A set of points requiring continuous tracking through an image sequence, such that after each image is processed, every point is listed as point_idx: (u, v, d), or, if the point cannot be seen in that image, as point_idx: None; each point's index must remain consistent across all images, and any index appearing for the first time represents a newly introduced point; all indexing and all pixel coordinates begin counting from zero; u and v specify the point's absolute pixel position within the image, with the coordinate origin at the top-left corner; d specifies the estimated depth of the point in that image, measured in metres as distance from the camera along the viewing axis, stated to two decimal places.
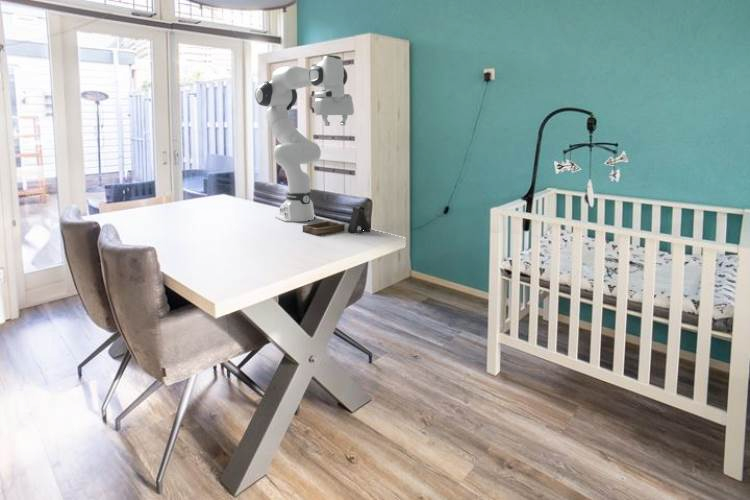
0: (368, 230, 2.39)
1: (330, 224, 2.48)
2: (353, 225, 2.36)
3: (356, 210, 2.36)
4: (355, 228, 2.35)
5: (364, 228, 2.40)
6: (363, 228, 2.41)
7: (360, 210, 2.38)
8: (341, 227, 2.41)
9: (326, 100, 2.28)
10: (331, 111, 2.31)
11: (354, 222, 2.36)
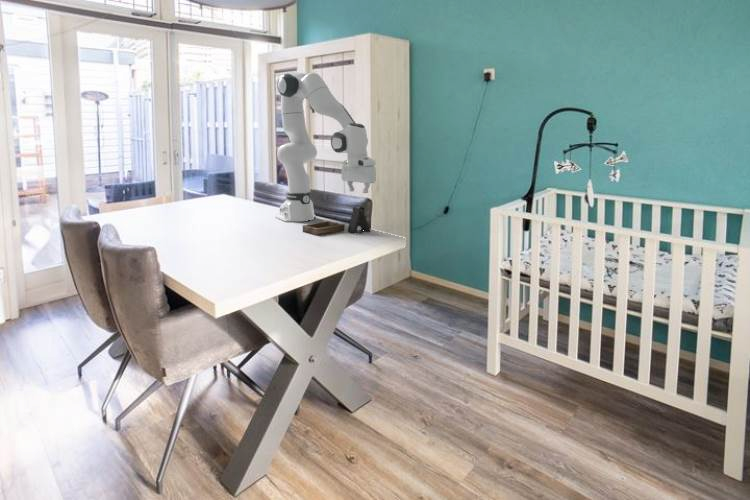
0: (368, 230, 2.39)
1: (330, 224, 2.48)
2: (353, 225, 2.36)
3: (356, 210, 2.36)
4: (355, 228, 2.35)
5: (364, 228, 2.40)
6: (363, 228, 2.41)
7: (360, 210, 2.38)
8: (341, 227, 2.41)
9: None
10: None
11: (354, 222, 2.36)
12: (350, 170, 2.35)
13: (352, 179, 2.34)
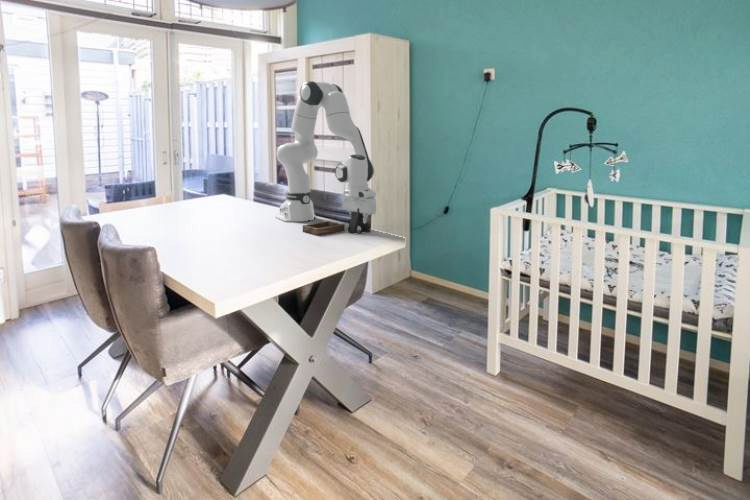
0: (368, 230, 2.39)
1: (330, 224, 2.48)
2: (353, 225, 2.36)
3: None
4: (355, 228, 2.35)
5: (364, 228, 2.40)
6: (363, 228, 2.41)
7: None
8: (341, 227, 2.41)
9: None
10: None
11: (354, 222, 2.36)
12: (350, 200, 2.38)
13: (353, 209, 2.38)
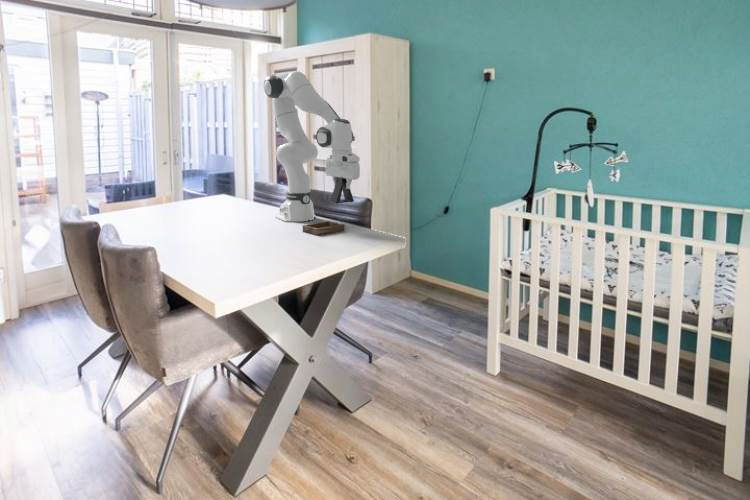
0: (351, 200, 2.37)
1: (330, 224, 2.48)
2: (336, 194, 2.34)
3: (340, 179, 2.34)
4: (338, 197, 2.33)
5: (347, 198, 2.38)
6: (347, 198, 2.39)
7: (344, 179, 2.36)
8: (341, 227, 2.41)
9: None
10: None
11: (337, 191, 2.34)
12: (334, 165, 2.35)
13: (336, 174, 2.35)
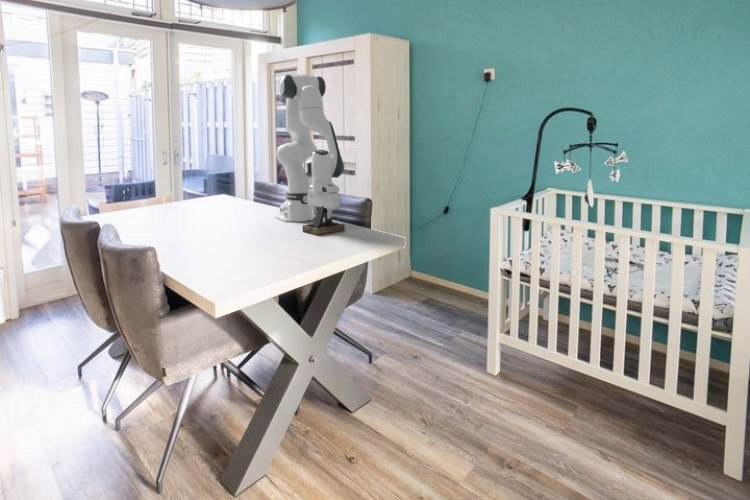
0: None
1: None
2: (317, 223, 2.38)
3: (320, 207, 2.37)
4: (319, 225, 2.37)
5: (329, 225, 2.41)
6: (328, 225, 2.42)
7: None
8: (341, 227, 2.41)
9: None
10: None
11: (318, 219, 2.37)
12: (315, 196, 2.39)
13: (317, 204, 2.38)
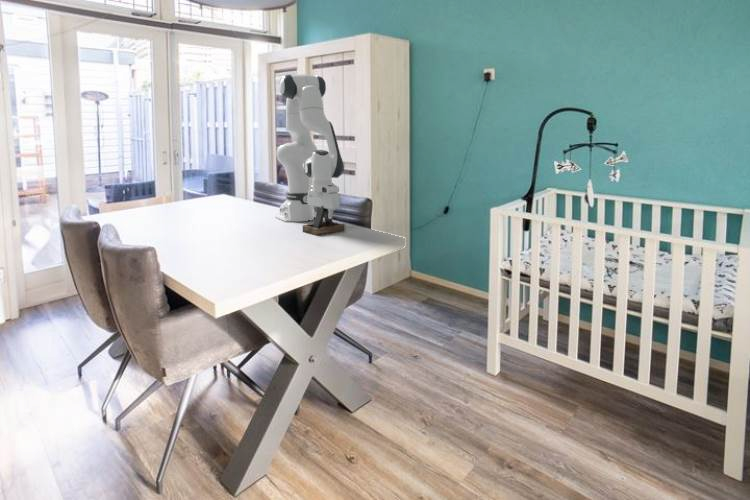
0: None
1: None
2: (317, 223, 2.38)
3: (320, 207, 2.37)
4: (319, 225, 2.37)
5: (329, 225, 2.41)
6: (328, 225, 2.42)
7: None
8: (341, 227, 2.41)
9: None
10: None
11: (318, 219, 2.37)
12: (315, 196, 2.39)
13: (317, 204, 2.38)
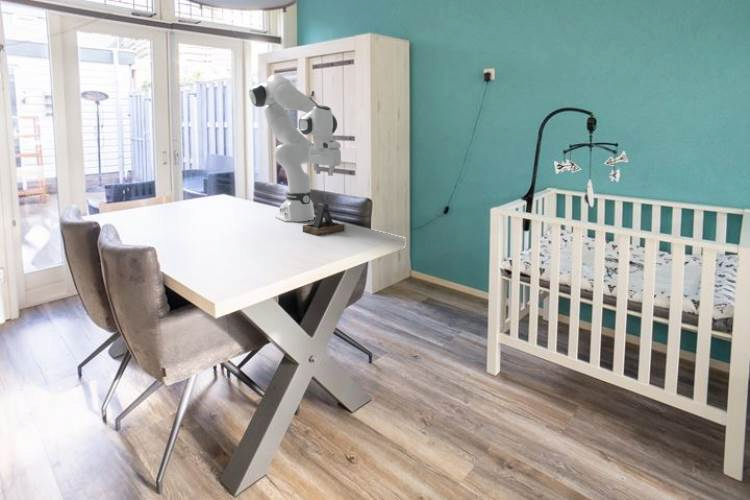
0: None
1: None
2: (317, 223, 2.38)
3: (320, 207, 2.37)
4: (319, 225, 2.37)
5: (329, 225, 2.41)
6: (328, 225, 2.42)
7: (325, 207, 2.39)
8: (341, 227, 2.41)
9: None
10: None
11: (318, 219, 2.37)
12: (316, 153, 2.36)
13: (318, 161, 2.35)
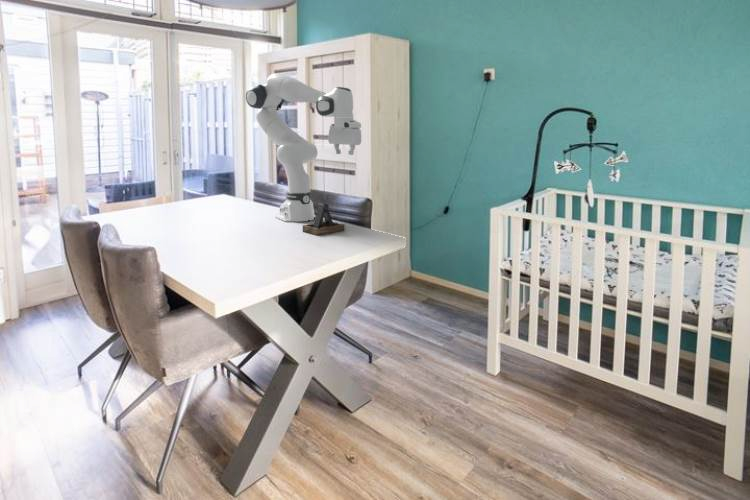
0: None
1: None
2: (317, 223, 2.38)
3: (320, 207, 2.37)
4: (319, 225, 2.37)
5: (329, 225, 2.41)
6: (328, 225, 2.42)
7: (325, 207, 2.39)
8: (341, 227, 2.41)
9: None
10: None
11: (318, 219, 2.37)
12: (336, 133, 2.43)
13: (339, 141, 2.43)
